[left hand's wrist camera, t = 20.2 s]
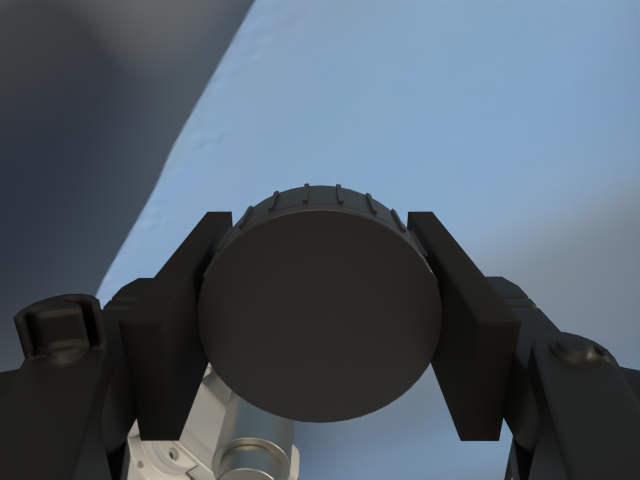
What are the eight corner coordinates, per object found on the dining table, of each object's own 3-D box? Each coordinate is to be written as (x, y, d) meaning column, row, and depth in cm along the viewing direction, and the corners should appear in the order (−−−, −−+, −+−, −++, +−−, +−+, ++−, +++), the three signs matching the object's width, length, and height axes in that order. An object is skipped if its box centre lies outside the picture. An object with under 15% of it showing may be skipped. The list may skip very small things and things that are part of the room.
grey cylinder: (241, 350, 43) (195, 512, 27) (255, 307, 41) (215, 453, 25) (291, 364, 44) (274, 531, 28) (307, 322, 42) (299, 474, 26)
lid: (440, 350, 13) (462, 400, 11) (250, 389, 13) (238, 445, 11) (405, 157, 11) (424, 176, 9) (182, 213, 11) (154, 242, 9)
